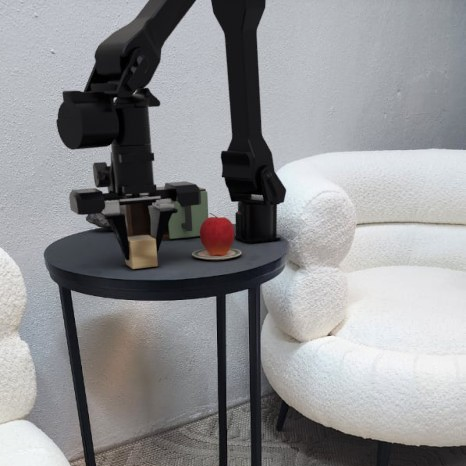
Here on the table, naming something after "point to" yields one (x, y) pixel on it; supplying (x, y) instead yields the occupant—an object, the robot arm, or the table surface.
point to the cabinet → (142, 219)
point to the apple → (216, 239)
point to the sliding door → (188, 219)
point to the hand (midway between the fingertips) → (141, 258)
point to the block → (142, 252)
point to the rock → (98, 221)
